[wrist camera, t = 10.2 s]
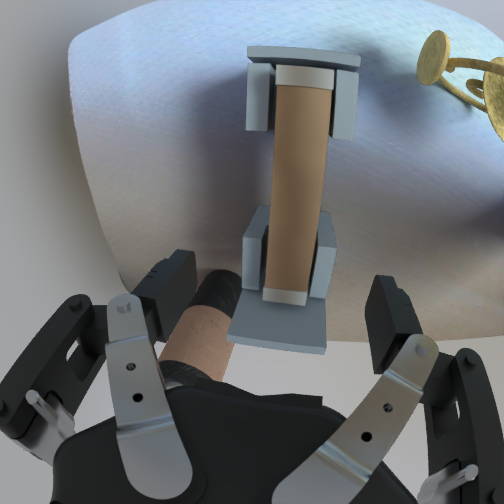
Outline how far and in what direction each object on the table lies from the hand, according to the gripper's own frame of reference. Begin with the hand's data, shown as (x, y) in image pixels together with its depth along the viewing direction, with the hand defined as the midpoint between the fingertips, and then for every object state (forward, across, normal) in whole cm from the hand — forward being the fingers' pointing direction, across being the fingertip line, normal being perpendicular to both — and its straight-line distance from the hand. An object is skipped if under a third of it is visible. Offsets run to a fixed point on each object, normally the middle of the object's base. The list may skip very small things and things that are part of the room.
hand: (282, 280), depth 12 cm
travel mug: (+23, +9, +19) cm, 31 cm away
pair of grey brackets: (+23, 0, 0) cm, 23 cm away
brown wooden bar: (+17, 0, 0) cm, 17 cm away
